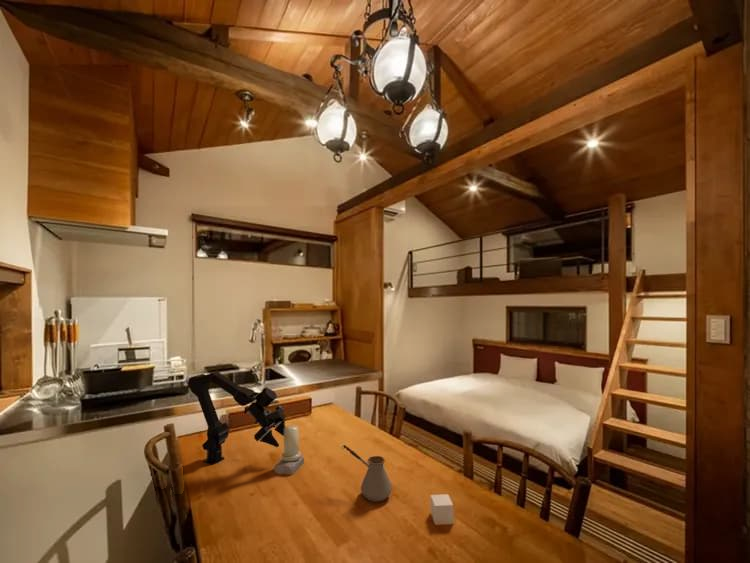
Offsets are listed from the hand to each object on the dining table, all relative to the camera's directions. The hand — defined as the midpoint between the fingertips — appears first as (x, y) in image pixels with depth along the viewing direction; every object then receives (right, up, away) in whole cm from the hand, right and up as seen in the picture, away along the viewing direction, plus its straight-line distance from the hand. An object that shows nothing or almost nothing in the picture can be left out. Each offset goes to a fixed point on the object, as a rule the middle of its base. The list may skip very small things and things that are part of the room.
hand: (283, 441), depth 147 cm
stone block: (+2, -11, -1) cm, 12 cm away
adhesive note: (+62, -9, -35) cm, 72 cm away
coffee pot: (+36, -10, -20) cm, 42 cm away
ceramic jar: (+4, -7, 0) cm, 8 cm away
